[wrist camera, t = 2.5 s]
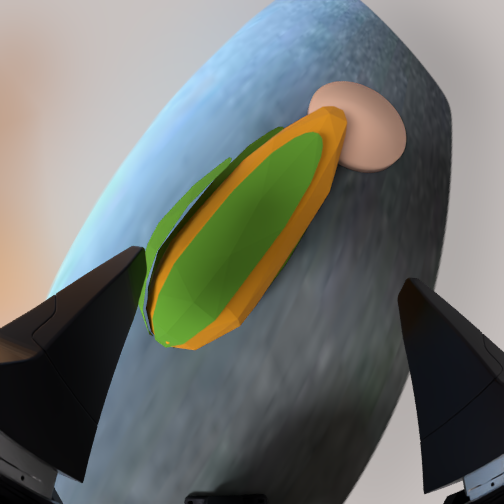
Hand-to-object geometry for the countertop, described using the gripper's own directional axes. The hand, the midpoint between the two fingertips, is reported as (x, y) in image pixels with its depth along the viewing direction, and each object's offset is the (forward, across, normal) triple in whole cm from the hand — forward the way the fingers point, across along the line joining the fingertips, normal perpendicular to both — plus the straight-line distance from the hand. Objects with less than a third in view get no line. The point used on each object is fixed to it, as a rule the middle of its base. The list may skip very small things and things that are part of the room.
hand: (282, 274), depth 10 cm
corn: (+12, +1, +5) cm, 13 cm away
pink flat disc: (+18, -7, -2) cm, 20 cm away
